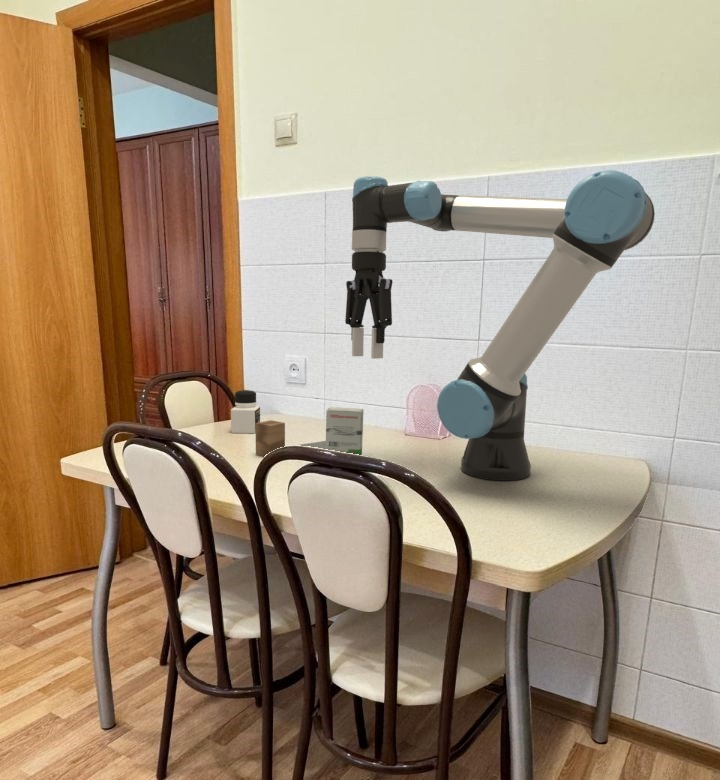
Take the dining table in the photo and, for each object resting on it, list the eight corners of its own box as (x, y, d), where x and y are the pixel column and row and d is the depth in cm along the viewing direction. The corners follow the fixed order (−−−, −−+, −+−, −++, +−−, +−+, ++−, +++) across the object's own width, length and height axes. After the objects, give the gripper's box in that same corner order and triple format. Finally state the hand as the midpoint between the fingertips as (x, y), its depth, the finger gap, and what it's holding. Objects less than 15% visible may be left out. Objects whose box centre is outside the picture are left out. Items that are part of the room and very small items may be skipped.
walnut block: (284, 454, 138) (284, 422, 137) (269, 458, 134) (269, 425, 133) (270, 451, 141) (270, 420, 140) (255, 455, 137) (255, 423, 136)
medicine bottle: (255, 433, 161) (255, 392, 159) (230, 433, 161) (230, 392, 159) (260, 429, 168) (260, 389, 166) (236, 428, 168) (236, 388, 167)
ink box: (362, 455, 138) (364, 407, 136) (360, 460, 133) (362, 411, 131) (327, 452, 139) (329, 405, 137) (324, 458, 134) (326, 409, 132)
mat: (360, 450, 143) (361, 448, 143) (300, 460, 133) (300, 458, 133) (333, 441, 153) (333, 439, 153) (275, 449, 142) (275, 448, 142)
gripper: (411, 250, 117) (408, 359, 120) (356, 256, 133) (354, 354, 136) (384, 246, 113) (381, 360, 116) (330, 254, 128) (329, 354, 131)
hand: (367, 357), depth 126 cm, fingers open, 6 cm apart
